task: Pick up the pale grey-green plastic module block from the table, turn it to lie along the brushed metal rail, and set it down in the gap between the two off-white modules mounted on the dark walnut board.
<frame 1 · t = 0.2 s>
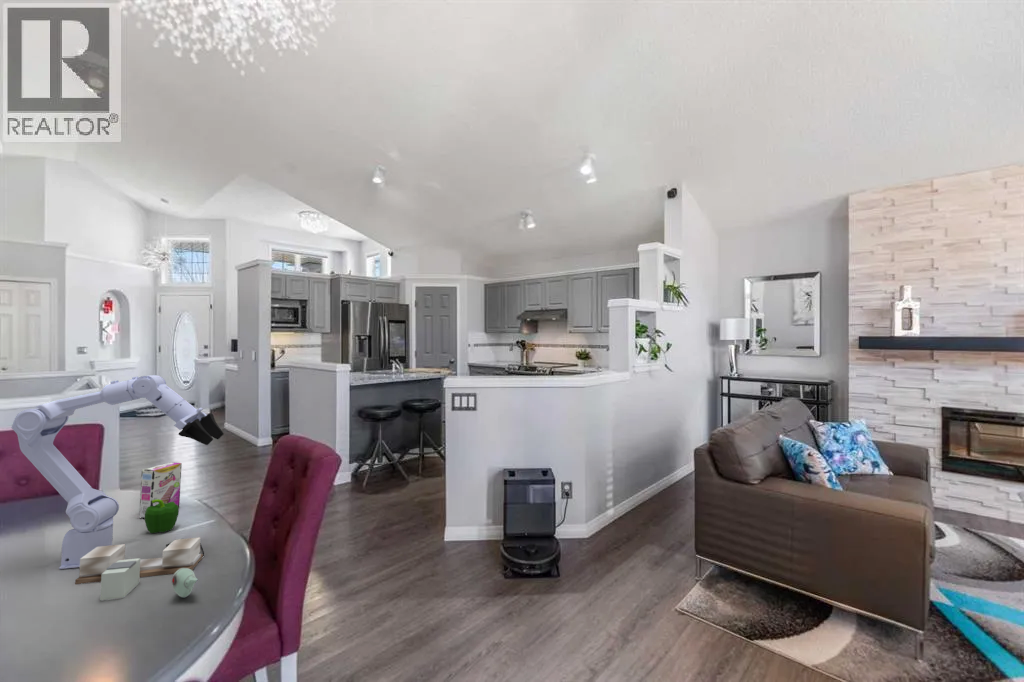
hand: (215, 439, 128), 31 cm above the table, tool tilted 45°, fingers open, 7 cm apart
phone: (184, 553, 126), on the table
robot head: (182, 598, 103), on the table
candy bar box: (160, 514, 155), on the table
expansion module: (120, 591, 105), on the table
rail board: (142, 570, 115), on the table
bell pepper: (161, 531, 141), on the table
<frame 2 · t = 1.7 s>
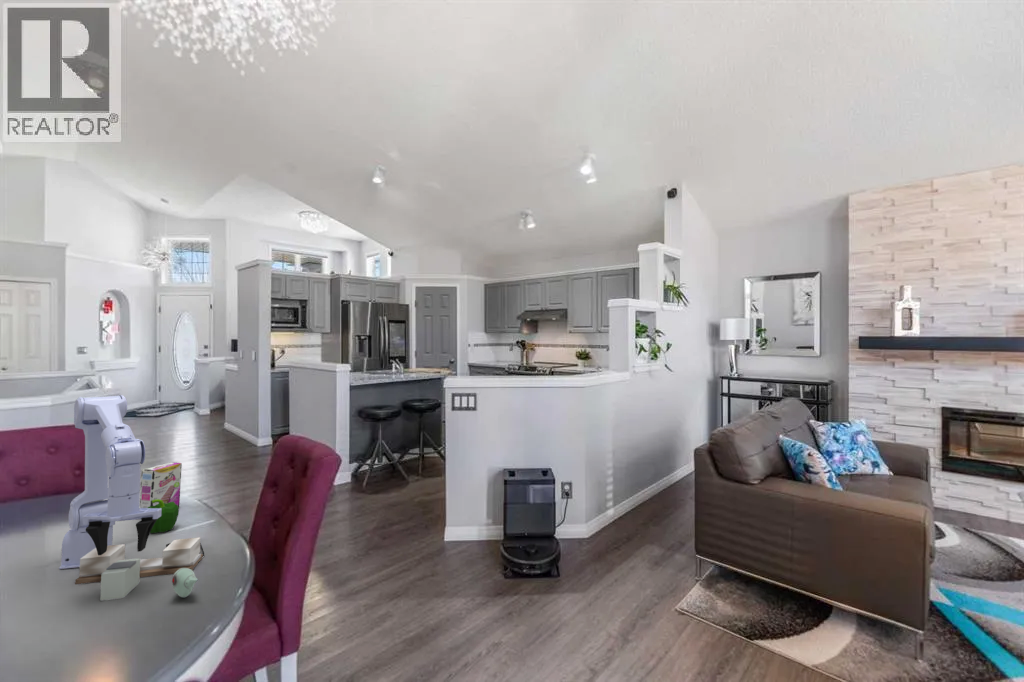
hand: (122, 551, 106), 9 cm above the table, tool pointing down, fingers open, 7 cm apart
nothing on the table moved.
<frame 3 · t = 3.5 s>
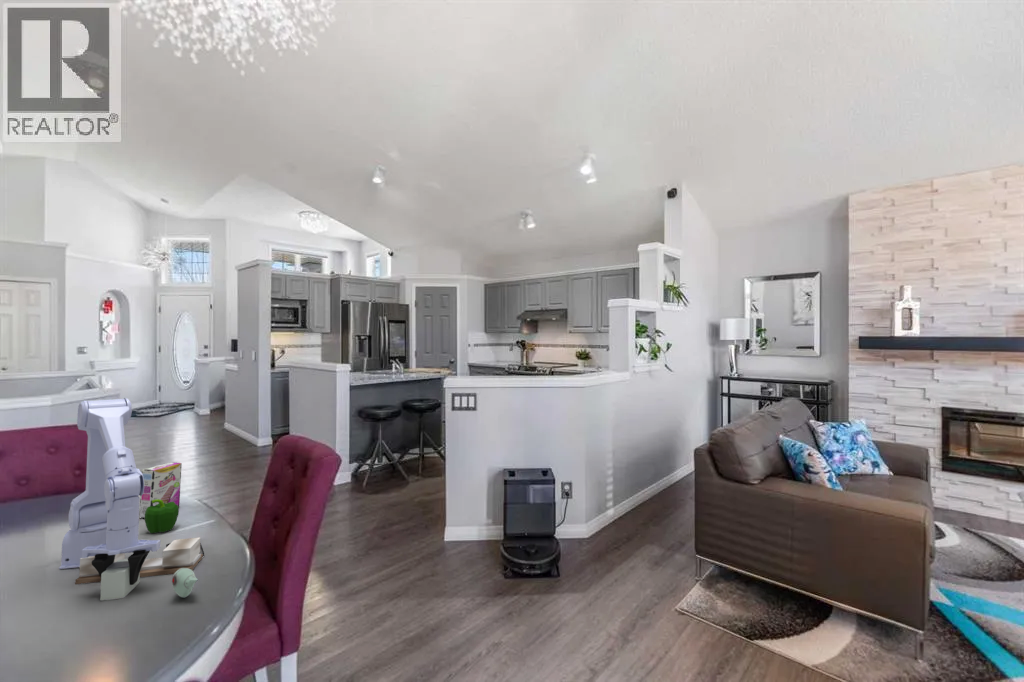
hand: (120, 584, 105), 2 cm above the table, tool pointing down, fingers closed on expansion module, 4 cm apart
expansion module: (120, 591, 105), on the table, touching gripper
everything else where it was.
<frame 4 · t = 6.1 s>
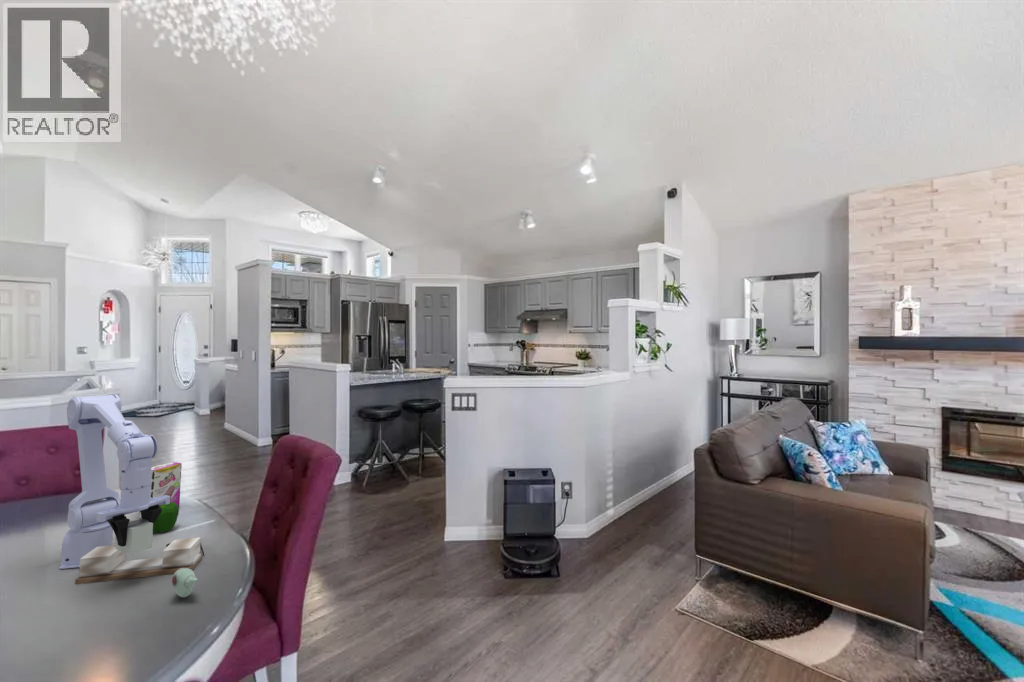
hand: (134, 541, 111), 9 cm above the table, tool pointing down, fingers closed on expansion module, 4 cm apart
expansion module: (133, 548, 111), point 8 cm above the table, touching gripper
everything else where it was.
when the fingers open (4 cm above the table, at t = 8.7 s): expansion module stays where it is, resting on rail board.
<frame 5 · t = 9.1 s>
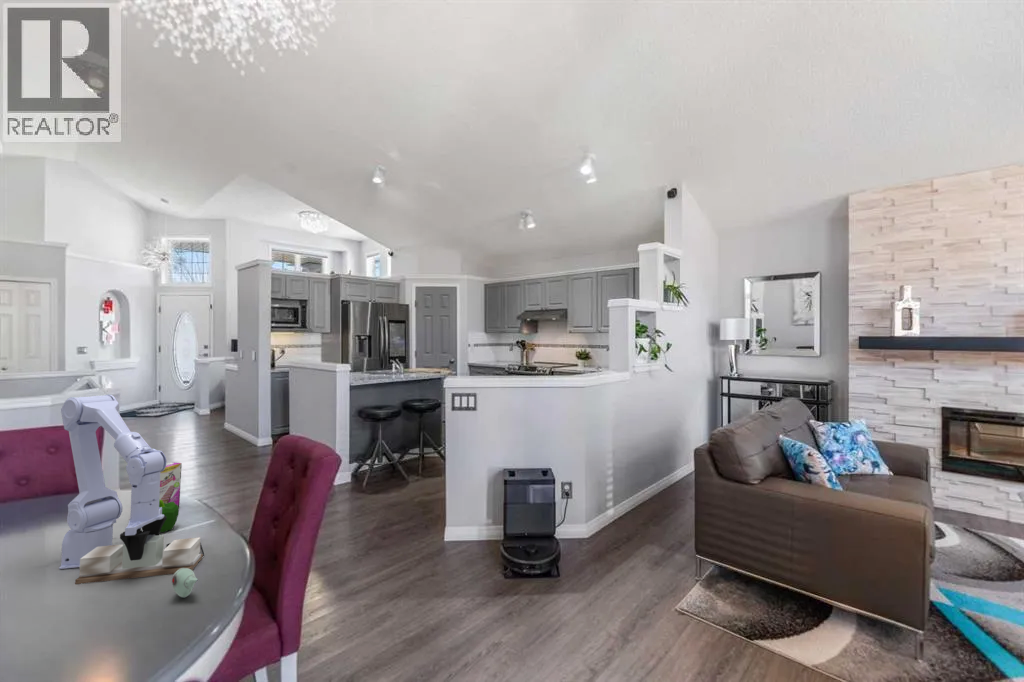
hand: (143, 552, 116), 4 cm above the table, tool pointing down, fingers open, 7 cm apart
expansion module: (143, 563, 116), point 2 cm above the table, touching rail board
everything else where it was.
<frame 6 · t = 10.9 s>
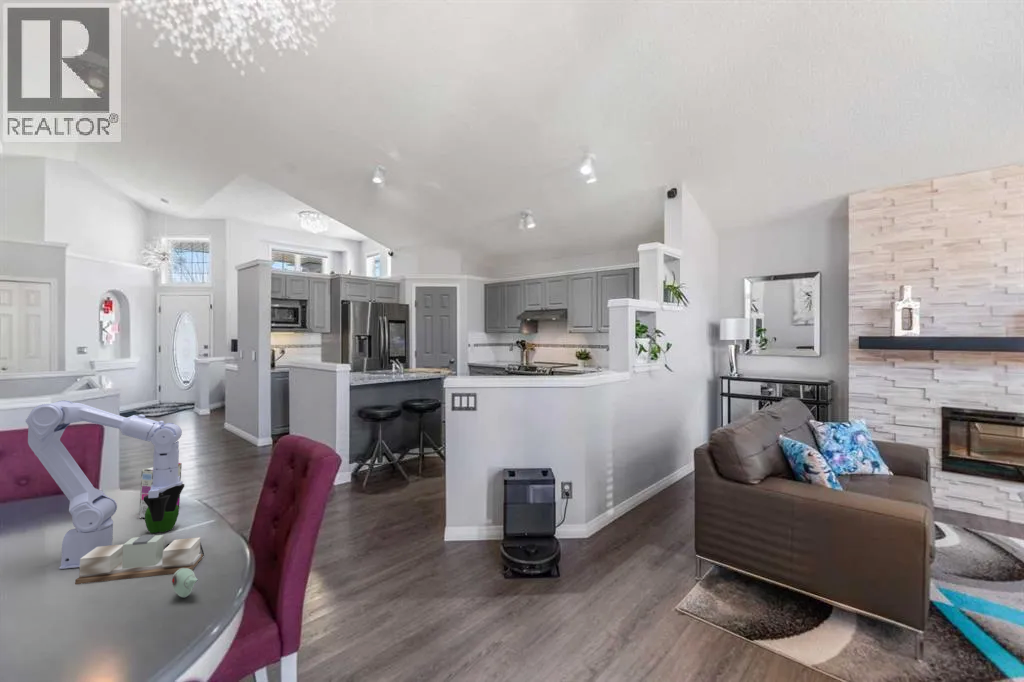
hand: (164, 515, 126), 10 cm above the table, tool pointing down, fingers open, 7 cm apart
nothing on the table moved.
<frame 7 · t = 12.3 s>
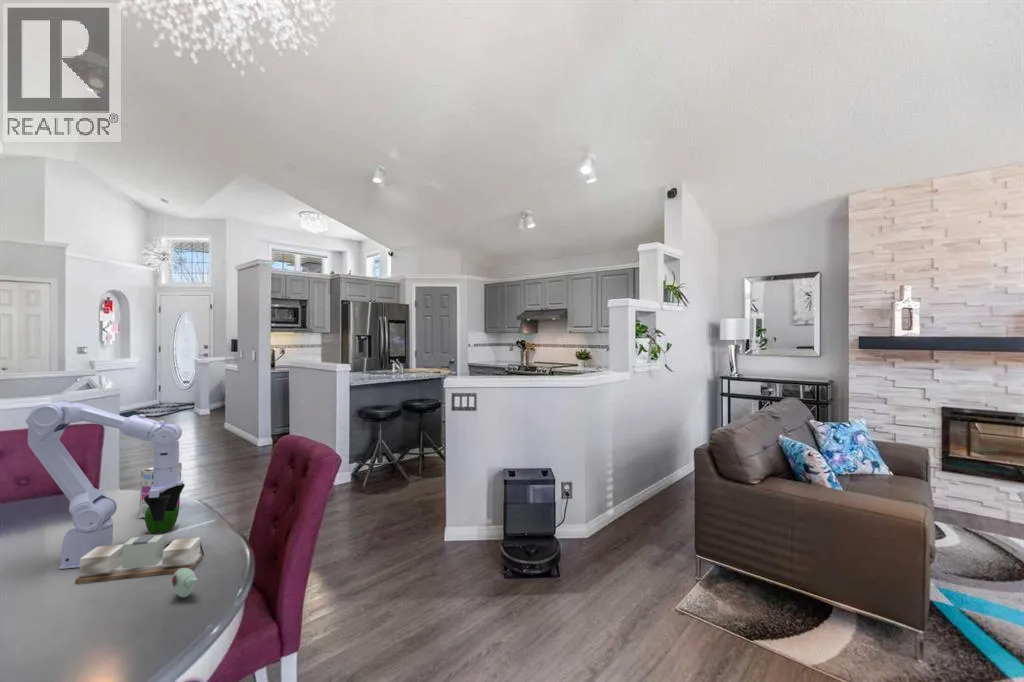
hand: (164, 515, 127), 10 cm above the table, tool pointing down, fingers open, 7 cm apart
nothing on the table moved.
at the end: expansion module 0.0 cm off-centre on the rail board, point 1.8 cm above the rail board's base; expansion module tilted 0°; the gripper is holding nothing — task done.
